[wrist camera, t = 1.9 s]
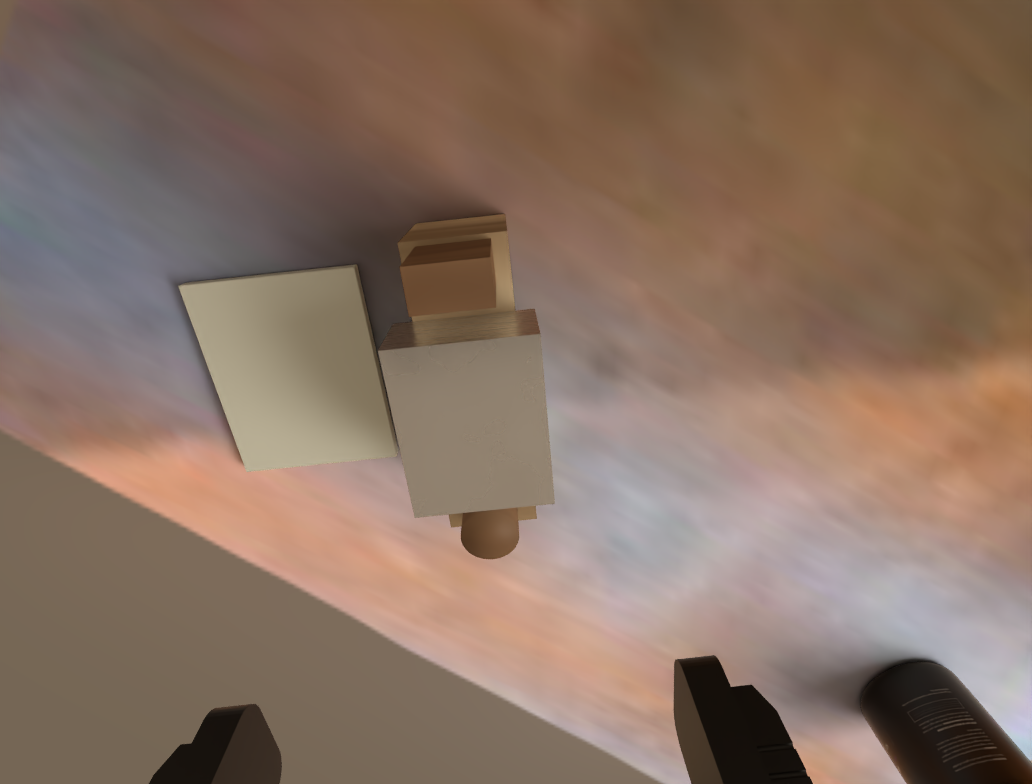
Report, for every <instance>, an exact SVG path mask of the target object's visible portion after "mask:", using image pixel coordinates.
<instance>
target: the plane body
mask: <svg viewBox="0 0 1032 784" xmlns="http://www.w3.org/2000/svg"><path fill="white" fill-rule="evenodd" d="M398 247H399V253H400V258H401V263H402V264H401V266H400V272H401V278H402V283H403V288H404V293H405V299H406V304H407V309H408V314H409V317H412V322H414V321H423V320H433V319H442V318H452V317H461V316H471V315H480V314H489V313H499V312H508V311H515V303H514V294H513V284H512V274H511V265H510V255H509V245H508V236H507V227H506V218H505V214H500V215H491V216H482V217H472V218H463V219H454V220H445V221H435V222H426V223H417V224H415V225H414V226H413V227H412V228H411V229H410V230H409V231H408V233H407V234H406V235H405V236H404V237H403V238H402V239H401V240H400V241H399V242H398ZM449 519H450V524H451V527H459V526H462V528H461V541H462V544H463V546H464V547H465V549H466V550H467V551H468V552H469V553H471V554H472V555H474V556H476V557H479V558H483V559H497V558H501V557H503V556H505V555H507V554H509V553H510V552H511V551H513V549H514V548H515V547H516V545H517V543H518V540H519V526H518V521H519V520H528V519H537V516H536V506H527V507H517V508H507V509H497V510H487V511H478V512H468V513H458V514H449Z"/></svg>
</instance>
